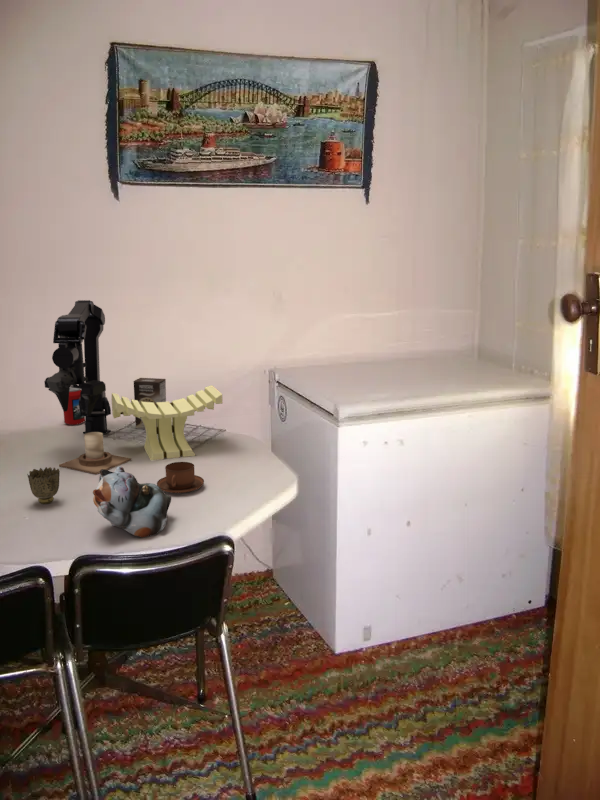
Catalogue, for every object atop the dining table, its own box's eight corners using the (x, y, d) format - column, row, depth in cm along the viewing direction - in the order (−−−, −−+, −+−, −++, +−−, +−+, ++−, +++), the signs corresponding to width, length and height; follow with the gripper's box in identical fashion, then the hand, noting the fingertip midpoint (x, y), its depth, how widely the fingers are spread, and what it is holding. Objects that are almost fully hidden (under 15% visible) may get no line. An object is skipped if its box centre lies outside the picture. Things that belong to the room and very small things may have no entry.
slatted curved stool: (211, 438, 237) (209, 383, 233) (223, 452, 222) (222, 394, 218) (114, 447, 227) (110, 390, 223) (120, 463, 212) (117, 402, 208)
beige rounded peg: (95, 457, 216) (93, 430, 214) (108, 460, 213) (106, 433, 211) (82, 462, 211) (80, 435, 209) (95, 465, 209) (93, 438, 207)
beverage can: (81, 426, 251) (79, 391, 248) (61, 426, 251) (58, 391, 248) (87, 420, 257) (85, 386, 254) (68, 420, 257) (65, 386, 254)
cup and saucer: (205, 495, 188) (204, 472, 187) (156, 498, 186) (155, 475, 185) (203, 479, 200) (202, 457, 198) (157, 482, 198) (156, 460, 196)
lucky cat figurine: (161, 541, 161) (122, 487, 155) (110, 557, 165) (70, 505, 159) (180, 493, 176) (145, 442, 169) (133, 509, 180) (97, 460, 173)
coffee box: (135, 428, 247) (132, 381, 243) (142, 423, 253) (139, 377, 249) (161, 430, 246) (159, 382, 242) (168, 424, 252) (165, 377, 248)
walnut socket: (95, 453, 222) (94, 446, 221) (131, 460, 215) (130, 453, 214) (59, 466, 210) (58, 459, 209) (96, 474, 203) (95, 467, 203)
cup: (37, 496, 187) (34, 466, 185) (66, 497, 187) (63, 466, 185) (25, 508, 180) (22, 476, 178) (55, 508, 180) (53, 476, 178)
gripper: (27, 362, 211) (32, 415, 215) (76, 369, 202) (80, 424, 206) (57, 355, 220) (61, 406, 224) (105, 361, 212) (108, 415, 216)
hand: (77, 413), depth 217 cm, fingers open, 9 cm apart
